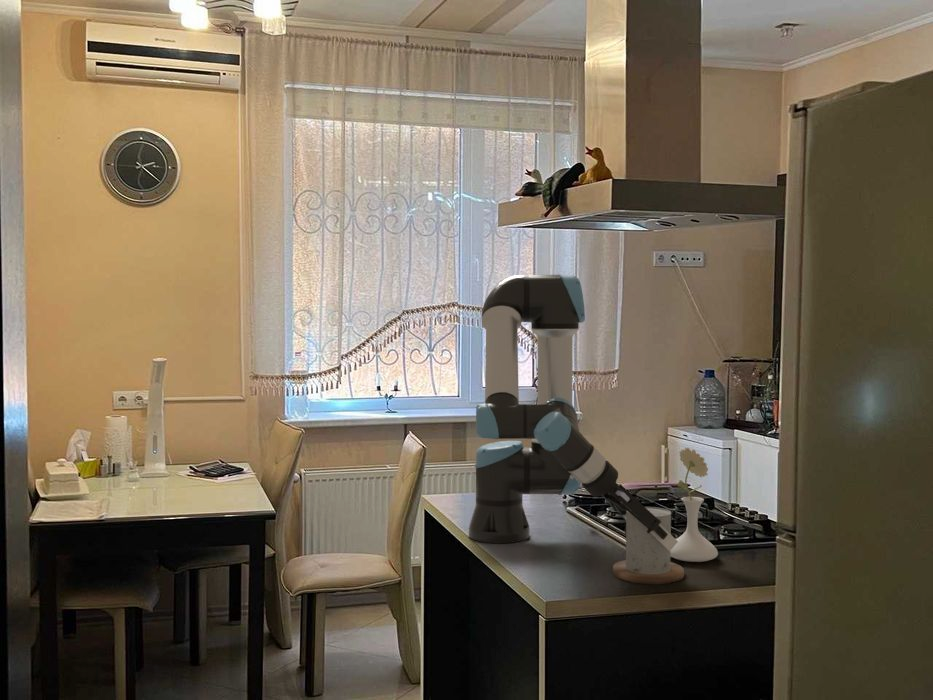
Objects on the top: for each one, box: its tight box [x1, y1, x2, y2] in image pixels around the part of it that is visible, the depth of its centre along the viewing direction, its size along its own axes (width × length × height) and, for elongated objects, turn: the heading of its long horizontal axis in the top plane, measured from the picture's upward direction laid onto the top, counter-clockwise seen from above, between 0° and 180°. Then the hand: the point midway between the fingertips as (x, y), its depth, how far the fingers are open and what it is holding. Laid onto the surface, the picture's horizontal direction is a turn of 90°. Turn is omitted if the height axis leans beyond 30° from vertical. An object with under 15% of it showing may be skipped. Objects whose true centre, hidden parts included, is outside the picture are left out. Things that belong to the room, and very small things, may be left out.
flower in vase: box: [670, 447, 719, 563], centre depth 221 cm, size 13×11×25 cm
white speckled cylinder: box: [625, 506, 672, 575], centre depth 209 cm, size 10×10×12 cm
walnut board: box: [612, 559, 685, 585], centre depth 209 cm, size 15×15×1 cm
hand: (659, 539), depth 209 cm, fingers open, 12 cm apart
